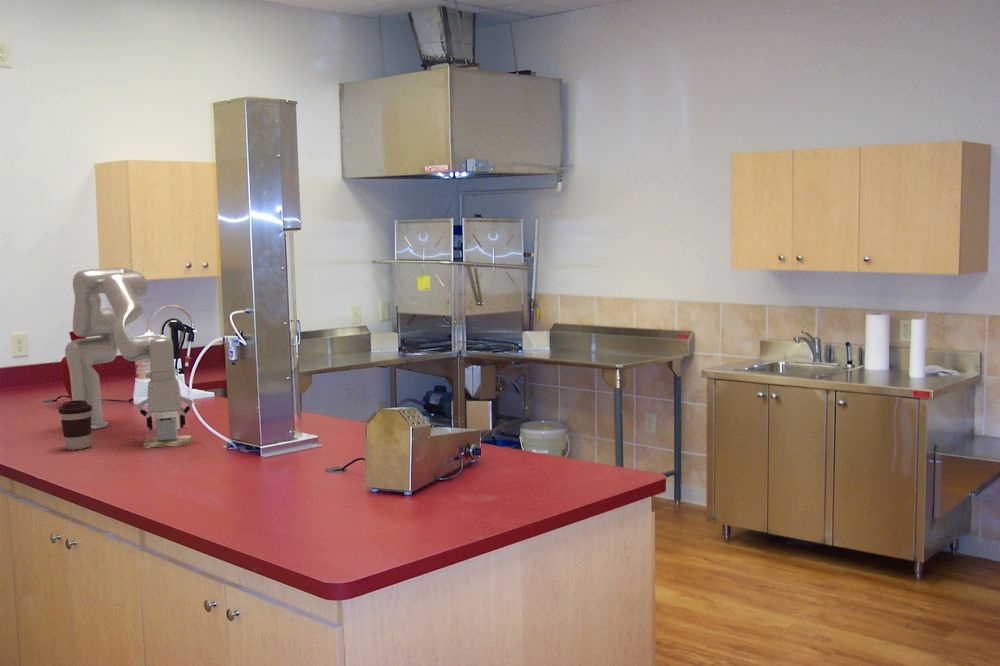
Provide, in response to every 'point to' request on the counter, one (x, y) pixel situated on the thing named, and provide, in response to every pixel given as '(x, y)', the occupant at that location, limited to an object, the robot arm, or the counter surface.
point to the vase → (65, 368)
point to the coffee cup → (76, 424)
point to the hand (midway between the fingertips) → (166, 428)
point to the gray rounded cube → (166, 428)
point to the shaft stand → (167, 441)
